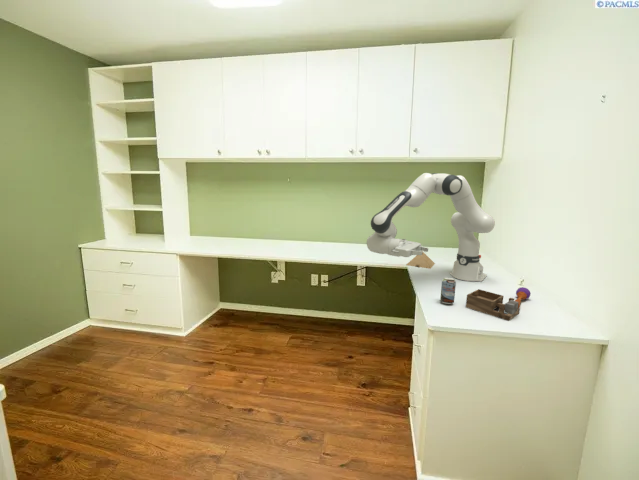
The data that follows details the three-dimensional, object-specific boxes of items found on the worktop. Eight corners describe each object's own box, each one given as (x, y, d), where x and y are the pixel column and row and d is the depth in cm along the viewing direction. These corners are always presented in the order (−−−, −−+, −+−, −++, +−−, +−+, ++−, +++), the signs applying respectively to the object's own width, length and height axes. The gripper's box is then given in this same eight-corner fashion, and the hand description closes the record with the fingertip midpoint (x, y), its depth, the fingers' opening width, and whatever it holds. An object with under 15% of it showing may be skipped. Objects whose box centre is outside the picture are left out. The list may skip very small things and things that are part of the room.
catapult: (477, 301, 152) (478, 289, 151) (519, 313, 138) (521, 300, 137) (465, 307, 144) (467, 294, 143) (508, 320, 131) (510, 307, 130)
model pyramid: (405, 265, 213) (406, 251, 212) (411, 260, 228) (412, 247, 226) (430, 269, 205) (431, 254, 203) (435, 264, 220) (436, 250, 218)
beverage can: (441, 305, 146) (444, 280, 143) (438, 299, 153) (440, 275, 151) (455, 306, 145) (458, 281, 142) (451, 300, 152) (454, 276, 150)
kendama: (507, 298, 145) (517, 285, 160) (508, 311, 146) (518, 296, 160) (522, 299, 141) (530, 286, 156) (523, 312, 142) (532, 297, 156)
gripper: (389, 244, 150) (418, 248, 142) (404, 238, 166) (431, 242, 159) (388, 257, 151) (417, 262, 143) (403, 250, 167) (430, 254, 160)
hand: (425, 251), depth 151 cm, fingers open, 8 cm apart
